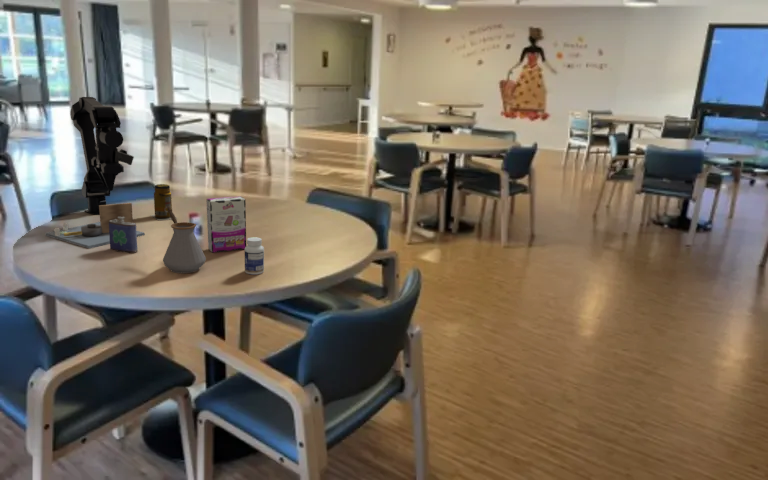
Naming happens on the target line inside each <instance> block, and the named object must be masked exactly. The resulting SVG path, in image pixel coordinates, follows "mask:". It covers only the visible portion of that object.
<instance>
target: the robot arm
mask: <svg viewBox="0 0 768 480" xmlns="http://www.w3.org/2000/svg"><path fill="white" fill-rule="evenodd" d="M69 112H70V113H69V114H70V120H71V121H72V122H73V127H75V128H76V130H77V131H79V133H80V138H81V143H82V144H81V145H82V149H83V156H84V160H85V166H86V173H85V175H84V178H83V183H82V187H81V195H82V197H84V198H86V199H87V200H86V201H87V209H86V210H84V213H87V214H91V215H100V212H99V205H107V200H106V198H107V197H110V196H111V192H112V191H113V190H114V186H115V182H116V177H117V176H118V175H119V174H121V173H124V172H125V170H124V165H123V164H121V163H124V164H127V165H129V166H132V165H133V162H134V159H135V156H133V155H131V154H129V153H128V151H127V150H125V149H123V148H122V149H120V150H118V148H119V147H121V146H122V144H123V142H124V136H123V134H122V133H121V132H119V130H117V129H121V123H122V122H121V120H120V117H119V115H118V112H117V111H116V110H115V108H114V107H113V106H111V105H103V104H102V103H100V102H99V101H98V100H97V98H96V97H93V96H81V97H79V99H78V100H77V101H76V102H74V103H73V104H72V106H71V109H70V111H69ZM120 162H121V163H120Z"/></svg>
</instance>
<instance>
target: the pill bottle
mask: <svg viewBox="0 0 768 480" xmlns="http://www.w3.org/2000/svg"><path fill="white" fill-rule="evenodd" d="M262 240H263V239H262V238H260V237H256V236H254V237H248V238H246V247H245V249H244V272H245V273H246V274H248V275H261V274H263V273H264V271H265V247H264V246H263V245H262V243H263V241H262Z"/></svg>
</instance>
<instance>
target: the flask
mask: <svg viewBox="0 0 768 480" xmlns="http://www.w3.org/2000/svg"><path fill="white" fill-rule="evenodd" d="M124 218H125V217H118V219H119V220H116V219H115V220H110V221H109V234H110V244H109V249H110V251H114V252H122V253H126V254H127V253H129V254H136V253H138V252H139V251H138V249H139V248H138V241H137V240H138V237H137V235H136V231H137V224H136V223H135V222H133V223H129V222H124Z"/></svg>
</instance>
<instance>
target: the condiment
mask: <svg viewBox="0 0 768 480" xmlns="http://www.w3.org/2000/svg"><path fill="white" fill-rule="evenodd" d="M153 202H154V203H153V205H154V207H153V208H154V214H151V215H150V217H152V218H153V219H155V220H157V221H168V220H169V219H170V220H172V219H171V217H170V213H169V212H166V211H168V209H167V208H166V207H167V206H169V207H172V208H171V210H172V211H173V205H172V202H173V201H172V193H171V185H170V184H167V183H165V184H162V183H159V184H155V185H154V192H153ZM164 209H165V210H164ZM175 218H176V220H178V217H176V216H175Z"/></svg>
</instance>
